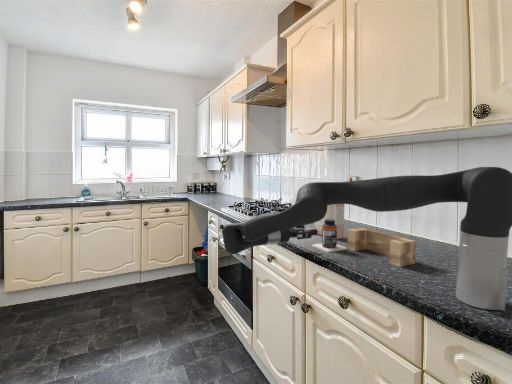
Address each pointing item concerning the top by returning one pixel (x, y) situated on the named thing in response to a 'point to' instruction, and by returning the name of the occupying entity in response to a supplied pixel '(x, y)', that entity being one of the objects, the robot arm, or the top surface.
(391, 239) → the oak bracket
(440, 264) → the top surface
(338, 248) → the plate
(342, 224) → the cracker box
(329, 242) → the supplement bottle
